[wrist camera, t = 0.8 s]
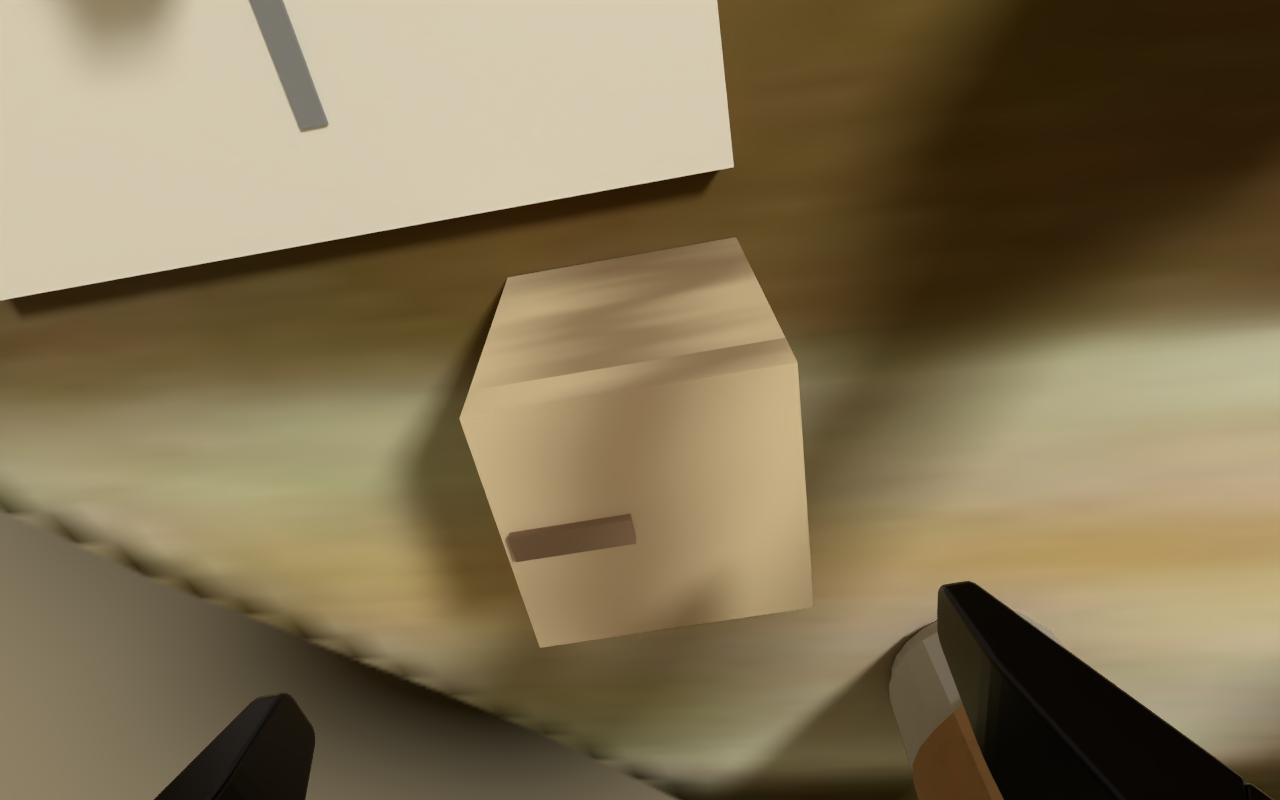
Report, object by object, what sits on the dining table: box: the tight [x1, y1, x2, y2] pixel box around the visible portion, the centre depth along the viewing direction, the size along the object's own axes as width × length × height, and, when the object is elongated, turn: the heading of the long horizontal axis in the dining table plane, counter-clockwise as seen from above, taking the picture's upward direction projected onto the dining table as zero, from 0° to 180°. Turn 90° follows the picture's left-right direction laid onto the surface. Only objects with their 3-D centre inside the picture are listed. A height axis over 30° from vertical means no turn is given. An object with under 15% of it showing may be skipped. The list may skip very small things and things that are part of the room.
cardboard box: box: [459, 237, 814, 648], centre depth 17 cm, size 6×6×7 cm
